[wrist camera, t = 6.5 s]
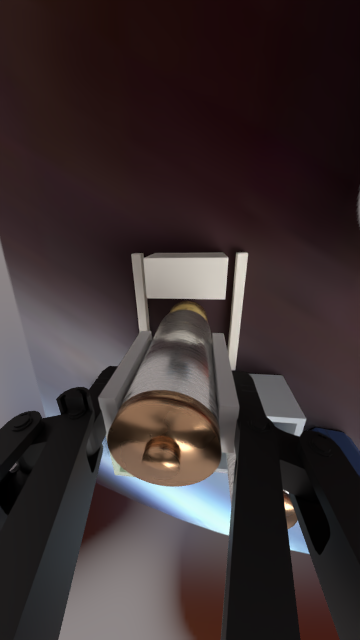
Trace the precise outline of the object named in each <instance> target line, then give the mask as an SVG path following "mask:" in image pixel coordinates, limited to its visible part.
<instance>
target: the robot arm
mask: <svg viewBox="0 0 360 640" xmlns="http://www.w3.org/2000/svg"><path fill="white" fill-rule="evenodd" d="M151 342H152V334H151V331H141V332H140V333H139V335H138V336H137V338H136V339H135V341H134V343H133V344H132V346H131V347H130V349H129V350H128V352H127V353H126V355H125V357H124V358H123V360H122V361H121V363H120V364H119V366H109V367H108V368H106V369H105V370H103V371H102V373H101V374H100V375H99V377H98V379H96V381H95V382H94V384H93V385H92V386H91V388H90V389H89V390H88V389H87V388H84V387H76V388H72V389H69V390H67V391H65V392H64V393H62V394H61V395H60V396H59V397H58V398H57V399H56V400H57V403H58V406H59V409H60V412H61V415H58V416H52V417H47V418H42V417H41V415H40V413H39V412H36V411H28V412H24V413H21V414H19V415H18V416H16V417H14V418H13V419H11V420H10V421H9V422H7V423H6V424H5V425H4V426H3V427H2V428H1V429H0V640H58V638H59V634H60V630H61V625H62V621H63V617H64V613H65V608H66V604H67V600H68V595H69V591H70V588H71V583H72V579H73V575H74V571H75V566H76V562H77V558H78V554H79V549H80V545H81V541H82V537H83V533H84V528H85V524H86V520H87V516H88V512H89V507H90V503H91V498H92V495H93V490H94V486H95V482H96V478H97V474H98V469H99V465H100V461H101V457H102V453H103V445H102V441H103V439H104V437H105V435H106V436H108V431H109V429H110V427H111V425H112V423H113V421H114V418H115V416H116V414H117V412H118V410H119V408H120V406H121V404H122V402H123V400H124V398H125V396H126V394H127V392H128V389H129V387H130V385H131V383H132V381H133V379H134V377H135V375H136V373H137V371H138V369H139V367H140V365H141V363H142V361H143V358H144V356H145V354H146V352H147V350H148V348H149V346H150V344H151ZM212 352H213V363H214V374H215V386H216V397H217V408H218V420H219V427H220V439H221V450H222V452H224V453H234V447H235V453H236V460H235V467H234V482H233V495H232V507H231V520H230V532H229V546H228V558H227V570H226V583H225V595H224V607H223V619H222V633H221V640H300V633H299V624H298V615H297V607H296V598H295V590H294V580H293V572H292V563H291V556H290V546H289V537H288V529H287V520H286V512H285V503H284V494H283V490H284V491H287V492H288V493H289V496H290V499H291V502H292V505H293V508H294V510H295V513H296V516H297V519H298V522H299V525H300V528H301V530H302V533H303V536H304V539H305V542H306V545H307V547H308V550H309V553H310V556H311V559H312V562H313V565H314V567H315V570H316V573H317V576H318V579H319V582H320V584H321V587H322V590H323V593H324V596H325V599H326V602H327V604H328V607H329V610H330V613H331V616H332V619H333V622H334V624H335V627H336V630H337V633H338V636H339V639H340V640H360V477H359V475H358V474H357V472H356V471H355V469H354V468H353V466H352V465H351V463H350V462H349V460H348V459H347V457H346V456H345V454H344V453H343V451H342V450H341V448H340V447H339V446H338V445H337V444H336V442H335V441H333V440H332V439H331V438H329V437H328V436H327V435H324V434H322V433H320V432H317V431H312V430H310V431H304V432H303V433H302V434H301V435H300V437H299V436H296V435H293V434H291V433H288V432H285V431H283V430H280V429H279V428H277V427H275V426H274V424H273V422H272V421H271V420H270V419H269V418H267V416H266V414H265V412H264V409H263V406H262V403H261V400H260V397H259V395H258V392H257V389H256V387H255V383H254V380H253V378H252V377H251V376H250V375H249V374H248V373H247V372H236V371H232V370H231V365H230V361H229V356H228V351H227V347H226V342H225V338H224V333H212ZM15 463H16V464H17V466H16V467H15V468H14V469H13V470H11V471H9V470H10V469H11V468H12V467H13V465H14V464H15Z"/></svg>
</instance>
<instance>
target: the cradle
mask: <svg viewBox="0 0 360 640" xmlns="http://www.w3.org/2000/svg"><path fill="white" fill-rule="evenodd" d="M131 257H132V266H133V276H134V285H135V294H136V303H137V313H138V322H139V331H140V332H141V331H150V325H149V313H148V302H147V298H161V299H225V297H226V283H227V269H228V257H227V256H226V255H225V254H224V253H223V252H210V253H154V254H152V255H150V256H147V257H145V258H144V255H143V253H134V254H131ZM247 258H248V253H246V252H236V260H235V271H234V283H233V294H232V306H231V317H230V329H229V340H228V356H229V361H230V365H231V370H235V368H236V359H237V350H238V341H239V332H240V322H241V313H242V304H243V295H244V286H245V276H246V267H247Z"/></svg>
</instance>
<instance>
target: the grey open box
mask: <svg viewBox="0 0 360 640" xmlns="http://www.w3.org/2000/svg"><path fill="white" fill-rule="evenodd" d="M249 375H250V376H251V377H252V378H253V380H254V383H255V387H256V389H257V392H258V395H259V397H260V400H261V403H262V406H263V409H264V412H265V414H266V416H267V418H269V419H270V420H271V421H272V422H273V424H274V426H275V427H277V428H279V429H280V430H283V431H285V432H288V433H291V434H293V435H296V436H299V437H300V435H301V434H302V431H303V428H304V425H305V422H306V417H305V416H304V414H303V412H302V410H301V408H300V407H299V405H298V403H297V401H296V399H295V397H294V396H293V394H292V392H291V390H290V388H289V387H288V385H287V383H286V381H285V379H284V378H283V376H282V375H264V374H249ZM214 472H219V473H228V469H227V459H226V453H224V452H222V456H221V461H220V464H219V466H218V467H217V469H216V470H215V471H214Z"/></svg>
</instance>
